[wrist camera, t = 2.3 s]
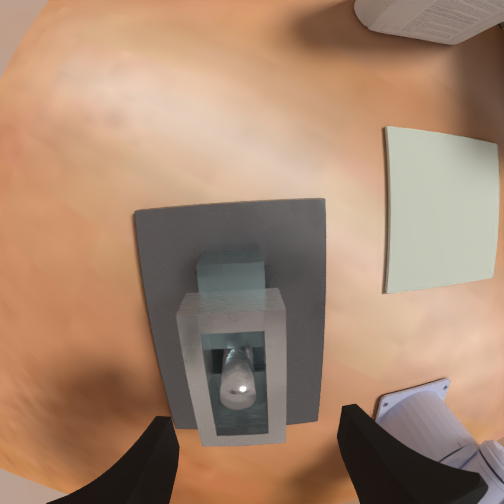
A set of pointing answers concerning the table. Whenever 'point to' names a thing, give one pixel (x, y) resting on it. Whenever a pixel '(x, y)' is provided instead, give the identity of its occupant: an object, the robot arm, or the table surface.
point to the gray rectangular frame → (202, 370)
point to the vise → (238, 278)
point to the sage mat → (440, 209)
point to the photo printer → (430, 18)
